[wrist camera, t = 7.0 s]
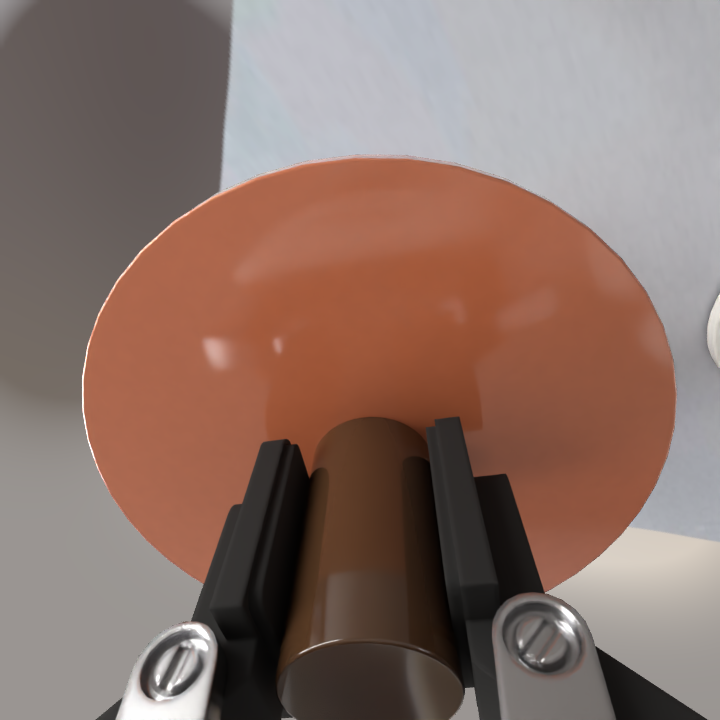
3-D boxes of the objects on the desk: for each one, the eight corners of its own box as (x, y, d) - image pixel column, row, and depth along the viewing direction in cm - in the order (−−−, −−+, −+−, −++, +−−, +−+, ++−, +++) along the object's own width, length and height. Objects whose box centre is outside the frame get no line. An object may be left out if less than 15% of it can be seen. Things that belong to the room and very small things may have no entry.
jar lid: (692, 78, 8) (1213, 88, 3) (629, 578, 15) (765, 852, 10) (-7, 219, 10) (-432, 380, 5) (211, 614, 17) (133, 866, 11)
